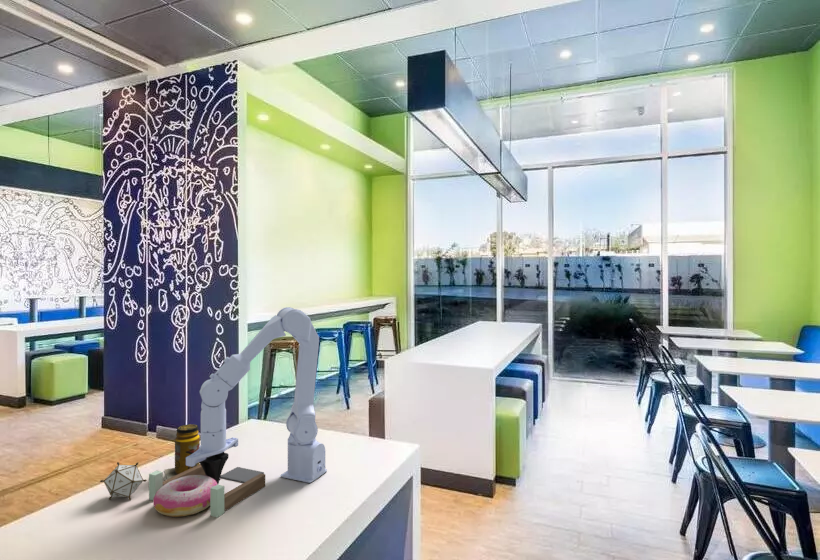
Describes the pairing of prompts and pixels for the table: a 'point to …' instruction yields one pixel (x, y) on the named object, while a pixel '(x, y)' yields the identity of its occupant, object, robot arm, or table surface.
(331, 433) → the table surface
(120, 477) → the game die
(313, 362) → the robot arm
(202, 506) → the donut
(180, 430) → the condiment
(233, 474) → the grey flat panel
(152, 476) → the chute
